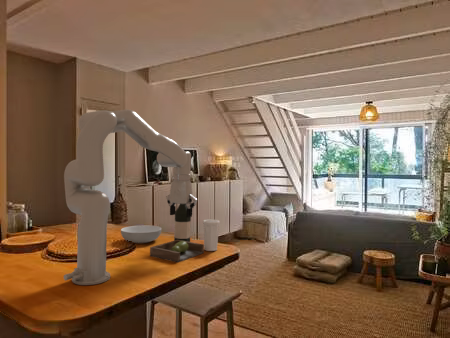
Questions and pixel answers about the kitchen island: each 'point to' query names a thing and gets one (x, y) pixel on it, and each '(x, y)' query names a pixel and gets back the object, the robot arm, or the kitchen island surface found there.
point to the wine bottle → (182, 224)
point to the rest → (165, 251)
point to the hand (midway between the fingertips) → (180, 215)
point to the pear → (180, 247)
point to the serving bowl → (141, 233)
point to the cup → (211, 234)
